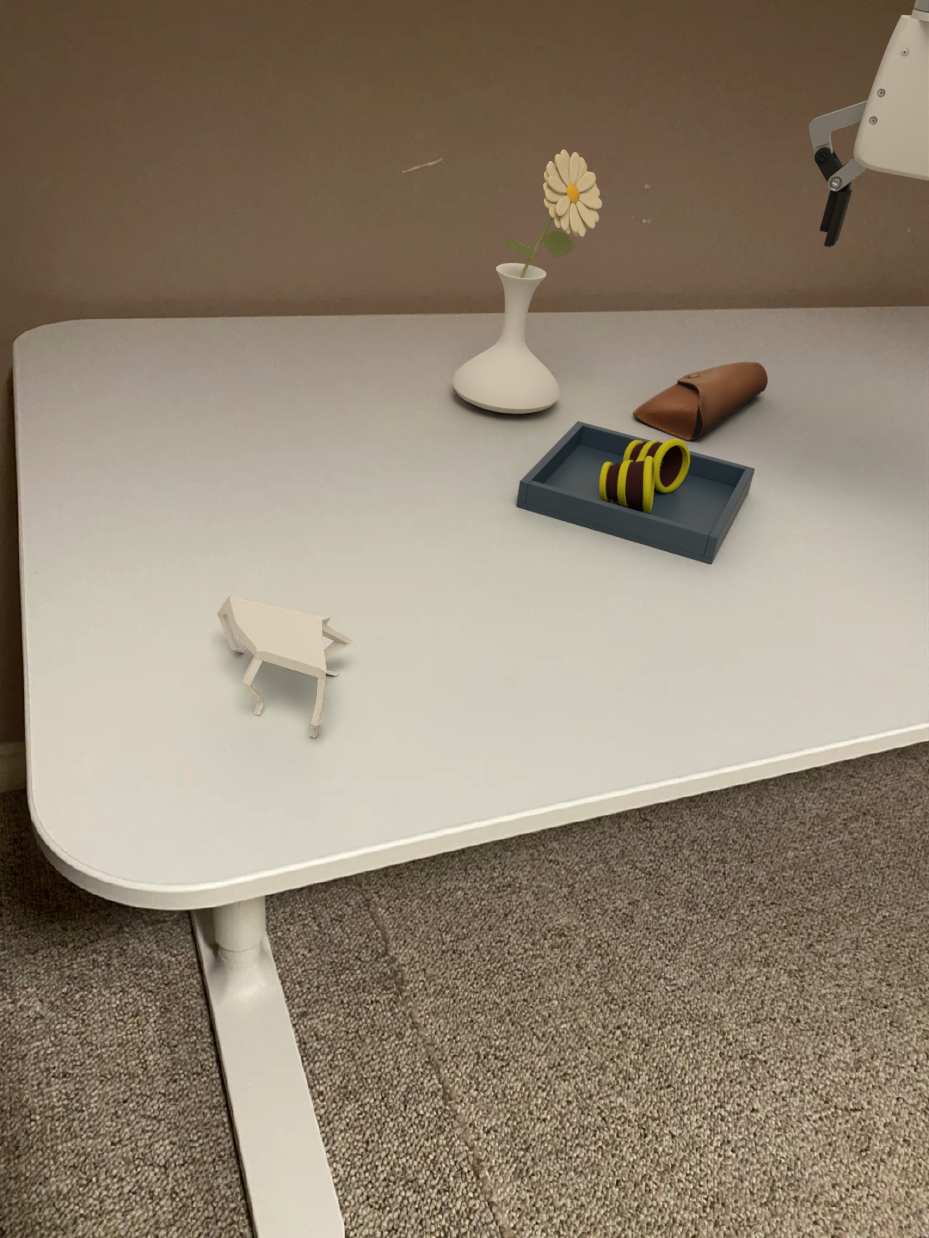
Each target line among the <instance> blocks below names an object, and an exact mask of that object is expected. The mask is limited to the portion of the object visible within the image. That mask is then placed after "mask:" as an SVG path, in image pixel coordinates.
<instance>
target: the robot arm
mask: <svg viewBox="0 0 929 1238" xmlns="http://www.w3.org/2000/svg"><path fill="white" fill-rule="evenodd" d="M855 124H859V126H858V129H857V133H856V136H855V141H854V146H853V156H852V158H850V159H849V160H848V161H846V162H845V163H844V164H843V163H842V162H841V160H840V158H839V157H838V155H837V153H836V152H835V150H834V148H833V144H832V136H831V135H832V133H833V132H834V131H838V130H840V129H843V128H846V127H850V126H852V125H855ZM808 132H809V137H810V142H811V146H812V150H813V155H814V159H813V160H814V162H815V164H816V166H817V167H818V170H820V172H821V174H822V176H823V178H824V179H825V181H826V183H827V187H828V189H829V194H828V196H827V201H826V205H825V208H824V211H823V215H822V218H821V223H820V226H819V232H822V233H826V236H825V240H824V243H823V247H827V248H832V247H835V245H836V243H837V242H838V241H839V238H840V235H841V231H842V228H843V225H844V221H845V218H846V214H847V211H848V207H849V205H850V200H851V196H852V193H853V190H852V189H851V184H852V181H854V180H855V179H856V178H857V177H859V176H861V175H862V173H864V172H865V171H866V170H870V171H875V172H879V173H883V174H884V173H885V174H890V175H895V176H901V177H905V178H911V179H917V180H921V181H929V0H915V3H914V5H913V9H912V12H911V14H910V15H908V14H901V16H900V18H899V20H898V22H897V23H896V26H895V28H894V30H893V32H892V34H891V36H890V39H889V41H888V43H887V46H886V48H885V51H884V53H883V56H882V59H881V61H880V64H879V67H878V70H877V73H876V75H875V78H874V80H873V84H872V86H871V89H870V92H869V95H868V97H867V99H866V100H864V101H860V102H858V103H856V104H852V105H849V106H846V107H843V108H841V109H838V110H834V111H832V112H829V113H826V114H823V115H820V116H817V117H815V118H813V119H812V120H810V122H809V123H808Z"/></svg>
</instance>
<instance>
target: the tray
mask: <svg viewBox="0 0 929 1238" xmlns="http://www.w3.org/2000/svg"><path fill="white" fill-rule="evenodd" d="M634 440H640V441H642V442H650V441H652V440H650V439H646V438H643V437H639V436H636V435H632V434H628V433H625V432H620V431H617V430H613V429H610V428H605V427H602V426H597V425H595V424H591V423H587V422H583V421H579V420H577V421H576V422H575V423H574V424H573V425H572V426H571V428H570V429H568V430H567V431H566V432H565V434H564V435H563V436H562V437H561V438H560V439H559V440H558V441H557V442H556V443H555V444H554V445H553V446H552V447H551V448H550V449H549V450H548V451H547V452H546V453H545V454H544V455H543V456H542V457H541V459H540V460H539V461H538V462H537V463H535V464H534V466H533V467H532V468H531V469H530V470H529V471H528V472H527V473H526V474H525V475H524V476H523V477H522V478H521V479H520V480H519V483H518V491H517V498H516V505H515V507H517V508H521V509H524V510H527V511H530V512H533V513H537V514H541V515H543V516H547V517H549V518H550V517H551V518H554V519H558V520H561V521H563V522H568V523H571V524H575V525H578V526H581V527H584V528H588V529H591V530H595V531H598V532H601V533H605V534H607V535H612V536H615V537H618V538H621V539H625V540H628V541H631V542H635V543H639V544H642V545H645V546H649V547H652V548H656V549H658V550H662V551H664V552H665V551H666V552H669V553H672V554H675V555H679V556H682V557H686V558H688V559H689V558H690V559H693V560H695V561H699V562H702V563H706V564H710V565H712V564H713V562H714V560H715V558H716V556H717V554H718V552H719V550H720V548H721V547H722V545H723V543H724V541H725V539H726V537H727V535H728V533H729V532H730V530H731V527H732V525H733V523H734V522H735V519H736V517H737V516H738V514H739V512H740V510H741V508H742V506H743V503H744V502H745V500H746V498H747V496H748V494H749V492H750V489H751V485H752V482H753V478H754V475H755V472H756V469H755V467H751V466H747V465H744V464H740V463H737V462H733V461H729V460H727V459H726V460H725V459H721V458H718V457H714V456H710V455H707V454H703V453H699V452H695V451H691V450H689V453H690V465H689V469H688V472H687V475H686V477H685V479H684V480H683V482H682V483H681V484H680V486H679V487H678V488H677V489H675V490H674V491H672V492H669V493H661V492H659V491H658V490H656V489H655V487H654V496H653V504H652V510H651V512H650V513H649V514H647V513H644V512H643V509H642V508H639V507H635V506H632V505H630V506H628V507H627V506H623V505H621V504H620V503H619V502H618V501H617V502H613V501H612V500H611V499H610V500H609V501H602V500H601V498H600V493H599V482H600V474H601V470H602V466H603V464H604V463H605V462H611V463H612V464H613V465H615V464H616V463H617V462H619V463H620V464H622V463H623V457H624V454H625V451H626V449H627V447H628V445H629V444H630V443H631V442H632V441H634Z"/></svg>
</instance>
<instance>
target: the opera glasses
mask: <svg viewBox="0 0 929 1238" xmlns="http://www.w3.org/2000/svg"><path fill="white" fill-rule="evenodd" d="M689 451H690V450H689V447H688V445H687V444H686V443H685V442H684V441H683V440H682V439H680V438H669V439H667V440H665V441H664V442H662V441H661V440H651V441H650V442H642V441H640V440H634V441H632V442H631V443H630V444H629V445H628V447H627V449H626V451H625V454H624V457H623V463H622V464H620V463H619V462H617V463H616V464H615V465H613V464H612V463H611V462H605V463H604V464H603V466H602V470H601V474H600V482H599V493H600V498H601V500H602V501H609V500H610V499H611V500H612V501H613V502H617V501H618V502H619V503H620V504H621V505H623V506H627V507H628V506H630V505H632V506H635V507H639V508H642V509H643V512H644V513H647V514H649V513H650V512H651V510H652V504H653V496H654V487H655V489H656V490H658V491H659V492H661V493H669V492H672V491H674V490H675V489H677V488H678V487H679V486H680V484H681V483H682V482H683V480H684V479H685V477H686V475H687V472H688V469H689V465H690V453H689Z"/></svg>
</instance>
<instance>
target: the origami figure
mask: <svg viewBox="0 0 929 1238" xmlns="http://www.w3.org/2000/svg"><path fill="white" fill-rule="evenodd" d="M216 615H217V617H218V620H219V622H220V625H221V627H222V630H223V632H224V635H225V638H226V640H227V644H228V645H229V647H230V649H231V650H232V651H236V652H239V653H241V654H244V653H245V652H246V649H243V648H240V647H238V645H237V641H236V638H235V635H236V637H237V638H238V639H239V640H240V641H241V642H242V644H243V645H244V646H245V647H246V648H247V650H249V651H250V653H251V654H252V655H253V657H252V659H251V661H250V663H249V665H248V667H247V669H246V671H245V673H244V675H243V677H242V680H241V683H242V684H243V685H244V686H245V687H246V689H247V690H248V691H249V692H250V693H251V694H252V695H253V697H254V698H255V703H254V711H253V714H254V715H257V716H259V717H261V714H262V709H263V706H264V705H263V704H264V700H263V698H262V697H261V695H260V693H259V691H258V690H257V688H256V687H255V685H254V683H253V681H254V679H255V676H256V675H257V673H258V671H259V669H260V666H261V665H262V663H263V662H266V663H270V664H272V665H276V666H280V667H283V668H285V669H289V670H293V671H295V672H299V673H303V674H305V675H309V676H312V677H315V678H317V679H316V680H317V689H316V692H317V693H316V699H315V700H316V701H315V705H314V709H313V713H312V716H311V717H310V726H309V727H310V728H309V730H310V731H309V737H311V738H313V739H316V737H318V736H319V725H321V724H322V723H323V717H324V711H325V703H326V679H327V675H329V676H334V677H337V676H338V675H339V674H340V673H339V672H336V671H332V670H329V669H327V661H329V660H330V659H332V657H334V656H336V655H337V654H338V653H340V652H341V651H343V650H344V649H345V648H346V647H347V646H349V645H350V644H352V643H353V642H354V640H353V639H351V638H350V637H348V636H346V635H344V634H343V633H341V632H339V631H338V630H336V629H334V628H333V627H331V626H329V625H328V623H329V621H330V619H331V616H325V615H324V616H323V615H315V614H311V613H307V612H302V611H297V610H293V609H289V608H284V607H280V606H276V605H272V604H266V603H262V602H258V601H252V600H249V599H244V598H240V597H237V596H235V595H233V594H232V593H231V594H229V596H228V597H227V598H226V600H225V601H224V602H223V604H222V605H221V606H220V608H219V610H218V611H217V612H216ZM323 637H325V638H327V639H329V640H331V641H332V642H331V643H330V644H329V645H328V646H327V647H326V648H325V649H324V645H323Z"/></svg>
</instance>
